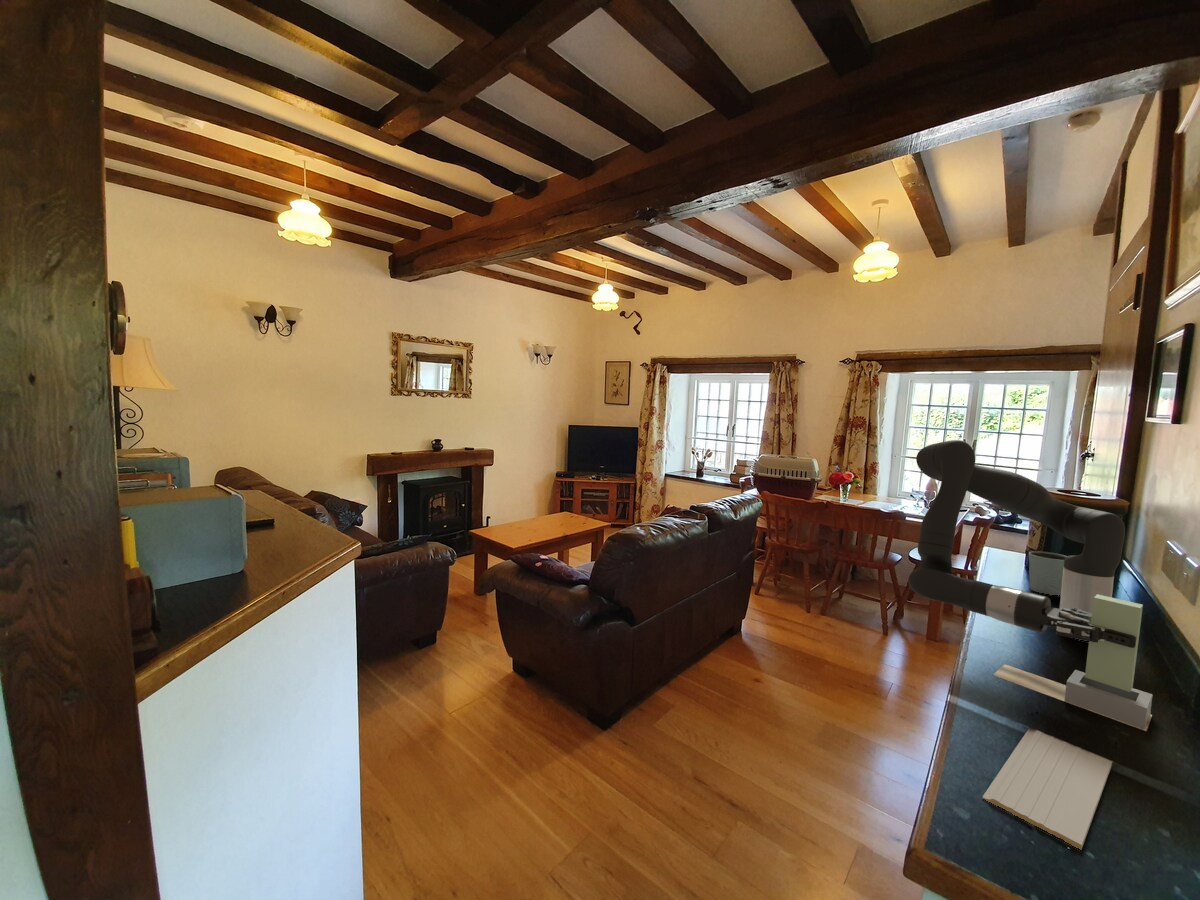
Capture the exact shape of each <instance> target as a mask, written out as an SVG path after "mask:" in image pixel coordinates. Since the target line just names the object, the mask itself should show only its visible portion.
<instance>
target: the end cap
mask: <svg viewBox="0 0 1200 900" xmlns="http://www.w3.org/2000/svg"><path fill="white" fill-rule="evenodd" d="M1065 685H1066V692H1065V701H1067V702H1070V703H1072V704H1071V705H1073V704H1075V705H1074V706H1076V705H1078V706H1081V707H1083V708H1082V709H1084V708H1086V709H1085V710H1087V709H1089V710H1092V711H1094V712H1093V713H1095V712H1097V713H1096V714H1098V713H1100V714H1103V715H1105V716H1104V717H1106V716H1108V717H1107V718H1109V717H1111V718H1114V719H1116V720H1115V721H1117V720H1119V721H1118V722H1120V721H1122V722H1125V723H1127V724H1126V725H1128V724H1130V725H1129V726H1131V725H1133V726H1136V727H1138V728H1137V729H1139V728H1141V729H1140V730H1142V729H1144V730H1145V727H1146V724H1147V722H1148V719H1149V717H1150V714H1151V710H1152V703H1153V696H1154V695H1153V694H1152V693H1149V692H1146V691H1142V690H1140V689H1136V688H1134V687H1132V689H1131V691H1130V692H1128V691H1125V690H1122V689H1119V688H1116V687H1113V686H1110V685H1107V684H1104V683H1101V682H1098V681H1095V680H1092V679H1089V678H1086V677H1085V672H1084V671H1080V670H1078V669H1075V670H1074V671H1073V672H1072V674H1070V676H1069V677H1068V679H1067V680H1066V684H1065ZM1065 701H1064V702H1065ZM1067 702H1066V703H1067ZM1070 703H1069V704H1070ZM1078 706H1077V707H1078ZM1081 707H1080V708H1081ZM1089 710H1088V711H1089ZM1092 711H1091V712H1092ZM1100 714H1099V715H1100ZM1103 715H1102V716H1103ZM1111 718H1110V719H1111ZM1114 719H1113V720H1114ZM1122 722H1121V723H1122ZM1125 723H1124V724H1125ZM1133 726H1132V727H1133ZM1136 727H1135V728H1136ZM1144 730H1143V731H1144Z"/></svg>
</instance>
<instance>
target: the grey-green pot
mask: <svg viewBox="0 0 1200 900" xmlns="http://www.w3.org/2000/svg"><path fill="white" fill-rule="evenodd" d="M1066 557H1067V555H1064V554H1060V553H1054V552H1050V551H1049V552H1048V551H1040V550H1039V551H1036V550H1034V551H1029V552H1028V568H1029V570H1028V571H1029V573H1028V574H1029V589H1030V590H1031V591H1033V592H1037V593H1038V592H1039V594H1042V593H1044V594H1043V595H1046V594H1049V595H1048V596H1052V595H1058V596H1057V597H1061V588H1062V577H1063V567H1064V560H1065V558H1066ZM1059 595H1060V596H1059Z"/></svg>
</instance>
